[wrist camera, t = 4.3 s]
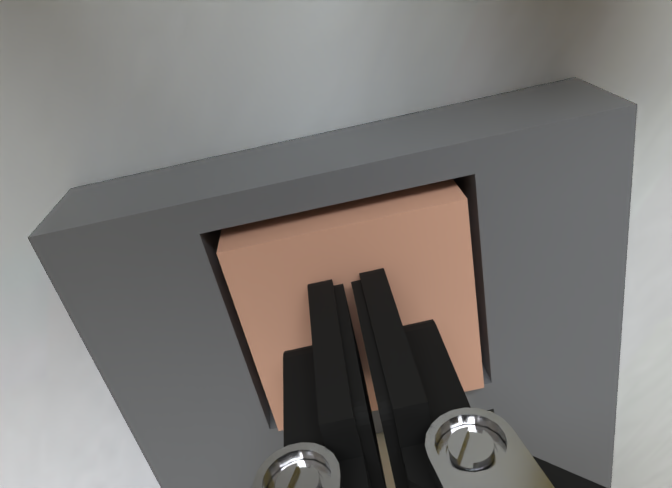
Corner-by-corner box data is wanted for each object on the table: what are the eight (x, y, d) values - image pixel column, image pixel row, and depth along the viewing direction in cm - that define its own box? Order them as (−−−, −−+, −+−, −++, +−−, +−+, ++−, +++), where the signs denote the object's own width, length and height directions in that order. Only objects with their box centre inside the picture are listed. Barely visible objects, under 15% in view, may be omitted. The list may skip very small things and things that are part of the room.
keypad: (575, 77, 13) (637, 104, 11) (568, 573, 22) (600, 642, 20) (70, 188, 13) (27, 237, 11) (278, 632, 22) (278, 707, 20)
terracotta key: (441, 163, 12) (467, 198, 11) (460, 335, 15) (484, 387, 13) (225, 211, 13) (216, 253, 11) (278, 374, 15) (278, 431, 13)
